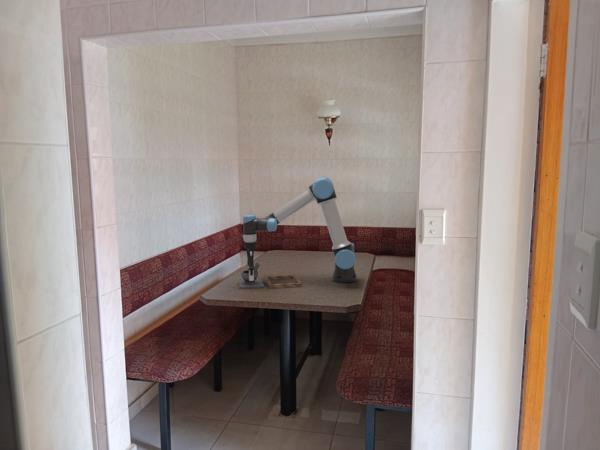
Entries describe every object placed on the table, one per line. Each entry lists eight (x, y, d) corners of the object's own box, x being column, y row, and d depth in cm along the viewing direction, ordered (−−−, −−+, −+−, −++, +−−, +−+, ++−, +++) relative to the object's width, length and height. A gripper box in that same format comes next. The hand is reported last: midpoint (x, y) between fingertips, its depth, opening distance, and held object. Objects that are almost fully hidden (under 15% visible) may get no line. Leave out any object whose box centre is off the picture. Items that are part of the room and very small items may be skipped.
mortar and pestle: (240, 285, 269) (239, 264, 267) (242, 281, 278) (242, 261, 276) (259, 285, 268) (259, 264, 267) (261, 281, 278) (260, 261, 276)
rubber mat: (261, 280, 282) (261, 279, 282) (264, 287, 267) (264, 285, 267) (238, 282, 280) (238, 280, 280) (239, 288, 264) (239, 287, 264)
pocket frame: (295, 277, 289) (295, 274, 289) (301, 286, 268) (301, 283, 267) (265, 279, 286) (264, 276, 286) (269, 288, 264) (269, 285, 264)
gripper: (242, 238, 280) (243, 274, 283) (244, 244, 259) (245, 283, 261) (254, 238, 282) (255, 274, 284) (258, 244, 260) (259, 282, 263)
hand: (250, 278), depth 273 cm, fingers closed on mortar and pestle, 10 cm apart
